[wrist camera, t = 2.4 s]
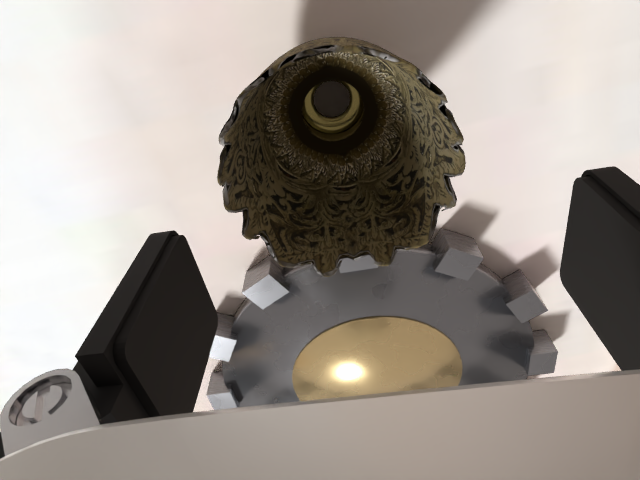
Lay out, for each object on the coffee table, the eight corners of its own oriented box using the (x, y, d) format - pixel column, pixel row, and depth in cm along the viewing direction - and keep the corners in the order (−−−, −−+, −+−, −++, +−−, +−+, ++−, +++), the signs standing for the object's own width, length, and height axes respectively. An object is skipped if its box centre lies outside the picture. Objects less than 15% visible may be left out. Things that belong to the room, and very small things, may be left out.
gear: (155, 256, 25) (144, 277, 23) (567, 193, 23) (584, 211, 21) (256, 464, 37) (254, 486, 36) (527, 435, 35) (537, 457, 34)
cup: (411, -11, 17) (471, 24, 11) (419, 160, 22) (465, 260, 15) (227, 24, 18) (178, 77, 11) (269, 184, 22) (251, 290, 16)
